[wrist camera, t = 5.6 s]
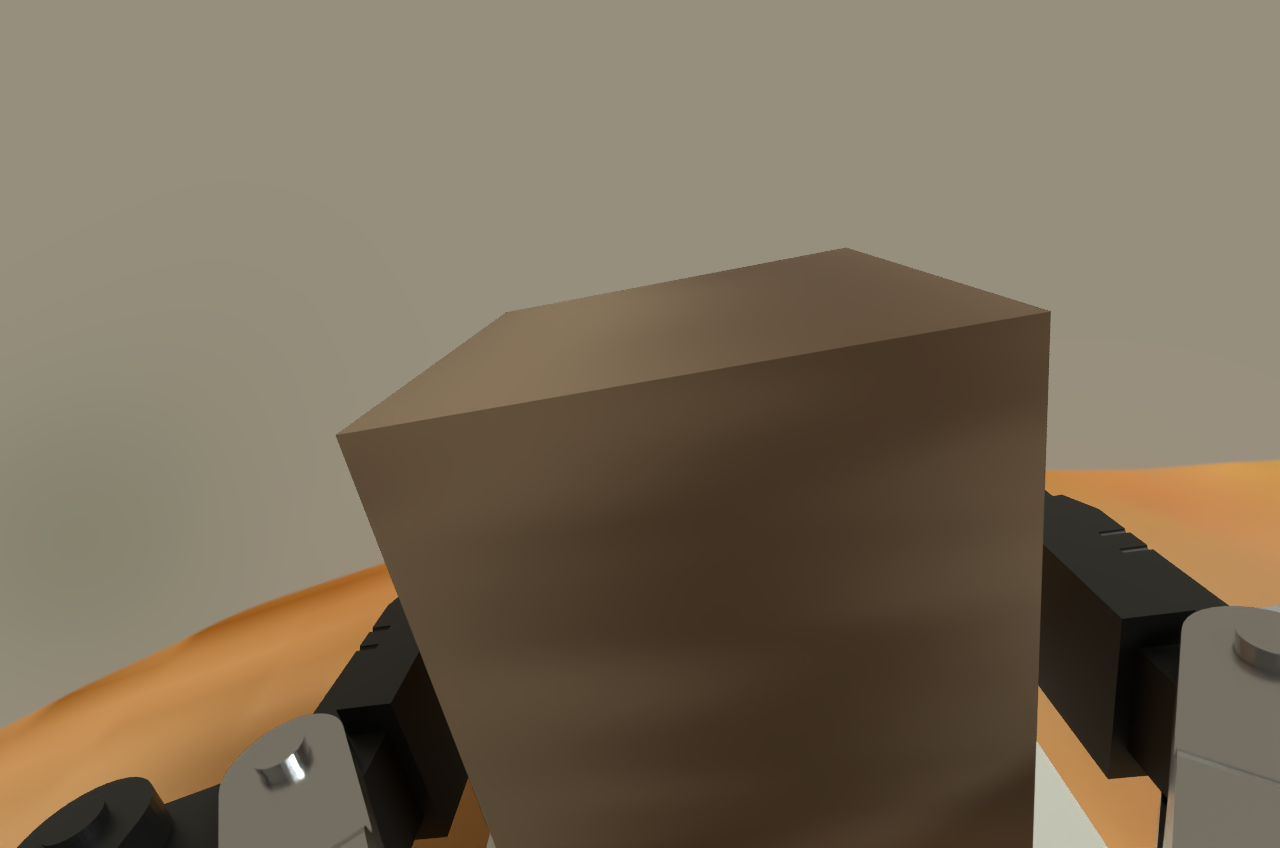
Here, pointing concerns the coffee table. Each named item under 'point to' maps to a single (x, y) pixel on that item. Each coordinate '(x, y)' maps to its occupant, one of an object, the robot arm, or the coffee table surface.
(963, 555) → the walnut block
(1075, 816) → the white tile
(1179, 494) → the coffee table surface
